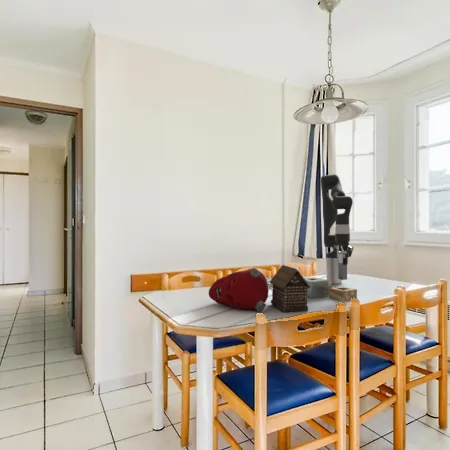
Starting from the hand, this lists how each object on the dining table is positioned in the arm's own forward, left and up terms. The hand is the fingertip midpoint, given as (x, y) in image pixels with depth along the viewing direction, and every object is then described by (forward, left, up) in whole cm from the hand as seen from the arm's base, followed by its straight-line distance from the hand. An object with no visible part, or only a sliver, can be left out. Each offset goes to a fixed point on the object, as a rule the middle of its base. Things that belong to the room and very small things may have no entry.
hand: (342, 264), depth 185 cm
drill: (0, 0, -8) cm, 8 cm away
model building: (+38, +3, -19) cm, 42 cm away
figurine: (+9, -38, -19) cm, 44 cm away
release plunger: (-1, -13, -17) cm, 22 cm away
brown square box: (0, 0, -18) cm, 18 cm away
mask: (+57, -10, -19) cm, 61 cm away
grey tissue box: (+6, -13, -18) cm, 23 cm away
